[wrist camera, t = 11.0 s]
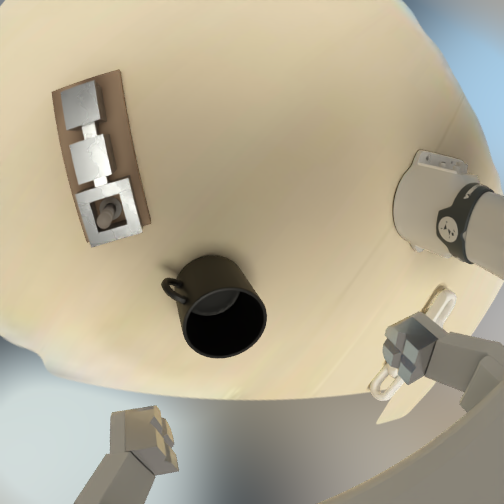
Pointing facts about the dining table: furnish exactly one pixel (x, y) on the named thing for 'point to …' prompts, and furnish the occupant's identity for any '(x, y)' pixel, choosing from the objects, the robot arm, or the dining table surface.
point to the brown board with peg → (121, 144)
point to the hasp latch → (97, 165)
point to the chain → (438, 315)
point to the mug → (217, 307)
